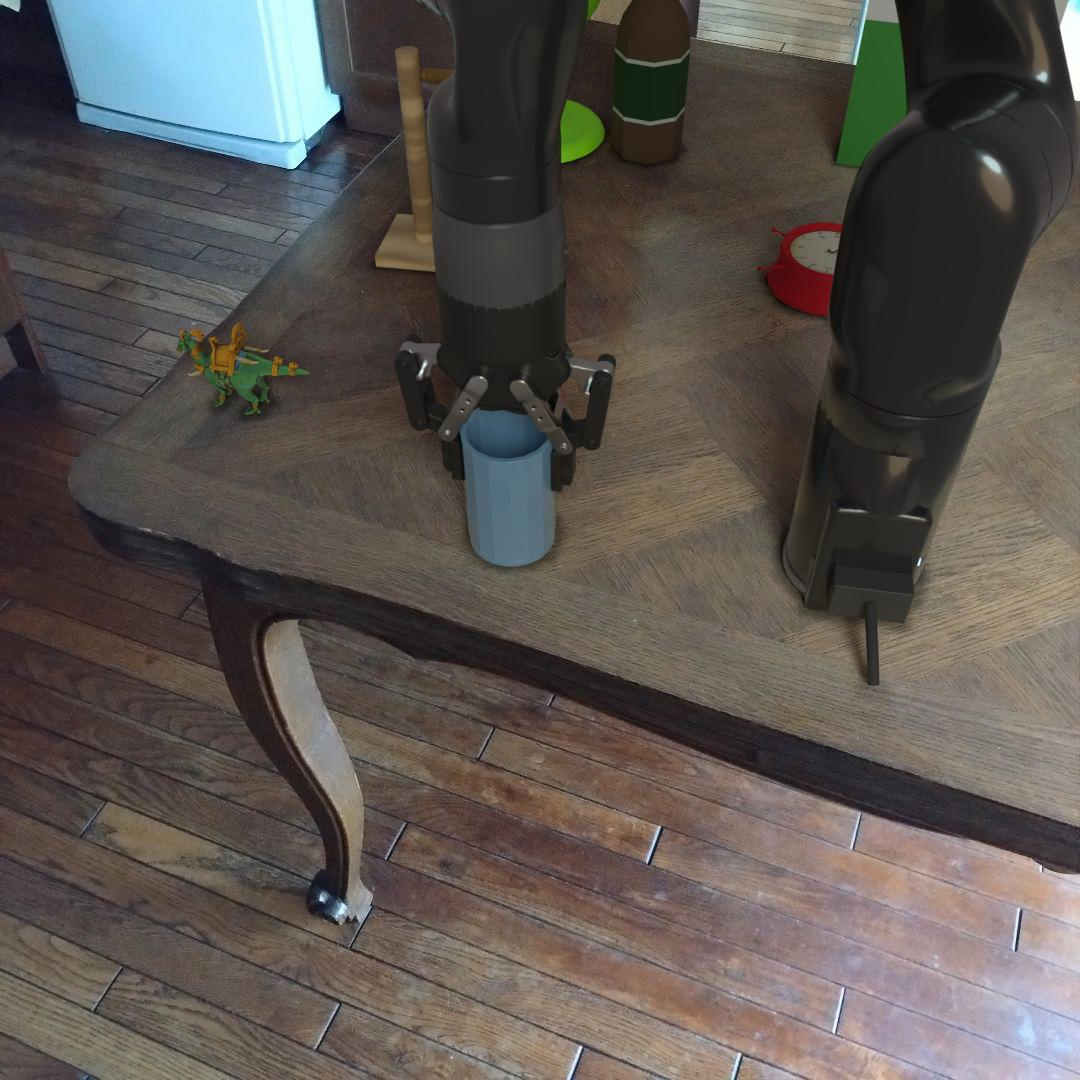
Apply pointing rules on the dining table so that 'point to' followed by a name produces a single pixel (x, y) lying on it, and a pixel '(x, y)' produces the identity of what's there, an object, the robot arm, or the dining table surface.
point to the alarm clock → (805, 266)
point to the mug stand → (413, 171)
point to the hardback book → (879, 83)
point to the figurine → (234, 365)
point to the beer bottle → (650, 80)
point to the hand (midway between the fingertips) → (510, 477)
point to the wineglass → (580, 123)
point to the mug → (507, 487)
